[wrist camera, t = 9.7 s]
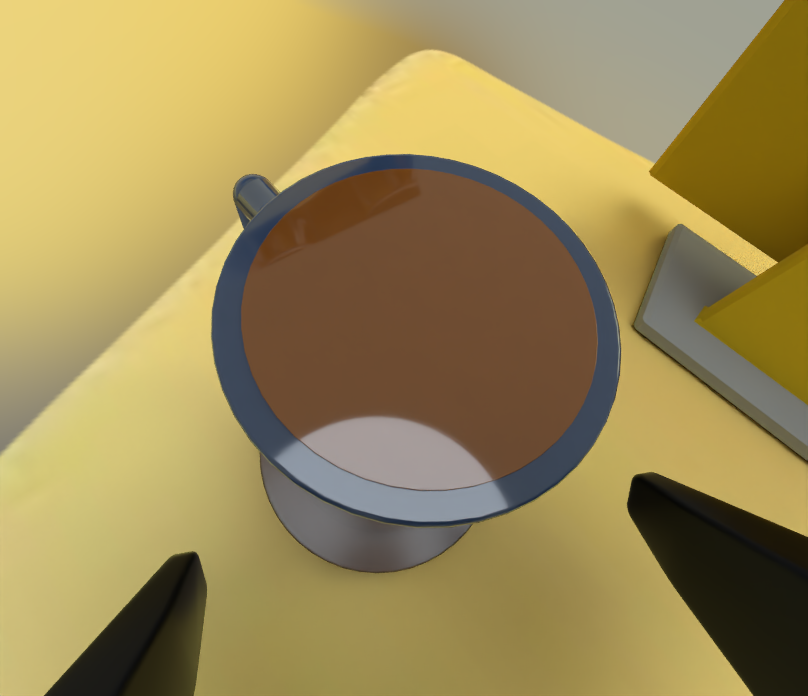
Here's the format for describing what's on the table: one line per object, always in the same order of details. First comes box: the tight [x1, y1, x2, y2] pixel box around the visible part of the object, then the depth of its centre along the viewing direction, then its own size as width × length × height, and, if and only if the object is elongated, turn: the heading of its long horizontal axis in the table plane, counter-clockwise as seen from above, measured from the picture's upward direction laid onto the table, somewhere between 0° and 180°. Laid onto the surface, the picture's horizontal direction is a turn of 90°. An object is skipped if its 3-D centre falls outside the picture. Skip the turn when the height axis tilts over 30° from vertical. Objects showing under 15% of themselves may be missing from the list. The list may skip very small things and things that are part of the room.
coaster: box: [260, 452, 472, 573], centre depth 19 cm, size 10×10×1 cm
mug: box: [211, 154, 621, 533], centre depth 13 cm, size 10×7×12 cm
